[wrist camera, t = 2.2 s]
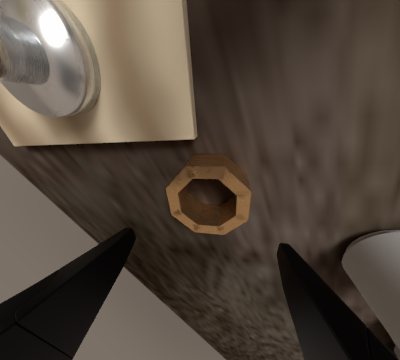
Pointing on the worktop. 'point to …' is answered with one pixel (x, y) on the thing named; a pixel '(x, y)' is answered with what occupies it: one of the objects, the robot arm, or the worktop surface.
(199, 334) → the worktop surface
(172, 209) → the ring
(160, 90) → the board
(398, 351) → the food item
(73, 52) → the silver door knob
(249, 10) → the worktop surface
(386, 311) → the can
